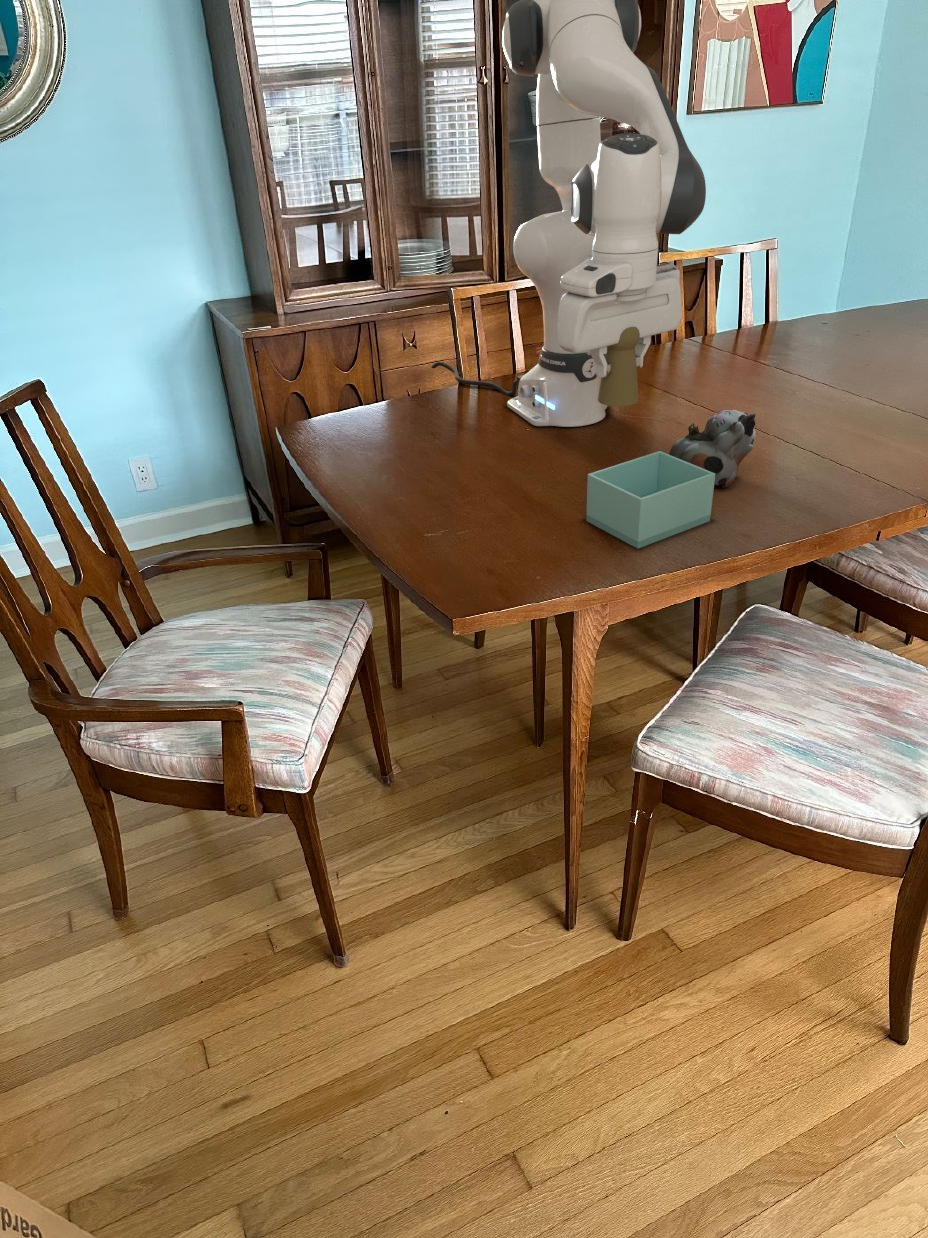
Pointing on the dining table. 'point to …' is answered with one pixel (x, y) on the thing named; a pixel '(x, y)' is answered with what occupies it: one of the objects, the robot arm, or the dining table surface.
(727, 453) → the lucky cat figurine
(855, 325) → the dining table surface
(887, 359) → the dining table surface
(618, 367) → the cork
